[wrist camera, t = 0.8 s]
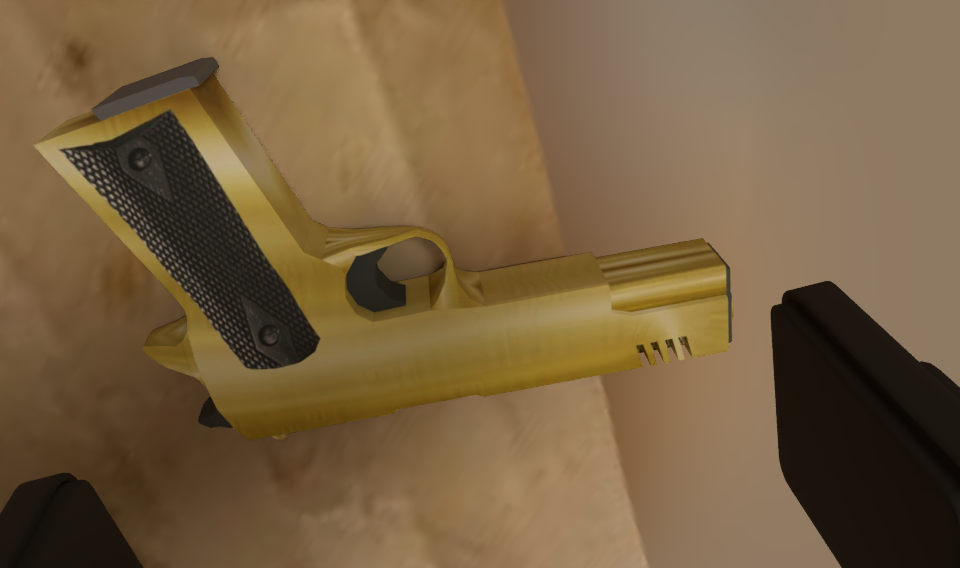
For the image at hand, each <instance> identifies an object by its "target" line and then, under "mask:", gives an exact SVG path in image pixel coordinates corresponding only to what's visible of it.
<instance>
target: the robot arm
mask: <svg viewBox="0 0 960 568" xmlns="http://www.w3.org/2000/svg"><path fill="white" fill-rule="evenodd" d="M771 331H772V347H773V365H774V381H775V398H776V415H777V432H778V449H779V460H780V465H781V469H782V472H783V475H784V477H785V480H786V482H787V484H788V485H789V487H790V488H791V490H792V492H793V493H794V495H795V496H796V498H797V499H798V501H799V503H800V504H801V506H802V507H803V509H804V510H805V512H806V513H807V515H808V516H809V518H810V519H811V521H812V523H813V524H814V526H815V527H816V529H817V530H818V532H819V533H820V535H821V536H822V538H823V539H824V541H825V543H826V544H827V546H828V547H829V549H830V550H831V552H832V553H833V555H834V556H835V558H836V560H837V561H838V562H839V564H840V566H841V567H842V568H960V387H958V386H957V385H956V384H955V383H954V382H953V381H952V380H951V379H949V377H947V376H946V375H945V374H944V373H943V372H942V371H941V370H939V369H938V368H937V367H935V366H934V365H932V364H931V363H927V362H922V361H921V362H919V361H917V360H916V359H915V358H914V357H913V356H912V355H911V354H910V353H909V352H908V351H907V350H906V349H904V348H903V347H902V346H901V345H900V344H899V343H898V342H897V341H896V340H895V339H894V338H893V337H892V336H890V335H889V334H888V333H887V332H886V331H885V330H884V329H883V328H882V327H881V326H880V325H878V324H877V323H876V322H875V321H874V320H873V319H872V318H871V317H870V316H869V315H868V314H866V312H865V311H863V310H862V309H861V308H860V307H859V306H858V305H857V304H856V303H855V302H854V301H853V300H851V299H850V298H849V297H848V296H847V295H846V294H845V293H844V292H843V291H842V290H841V289H840V288H839V287H837V286H836V285H835V284H834V283H832V282H831V281H824V282H820V283H817V284H813V285H809V286H805V287H801V288H797V289H793V290H789V291H786V292H785V293H784V294H783V297H782V304H778V305H774V306H773V307H772V309H771ZM0 568H143V566H142V565H141V563H140V562H139V560H138V558H137V557H136V555H135V554H134V552H133V550H132V549H131V547H130V546H129V544H128V542H127V541H126V539H125V538H124V536H123V535H122V533H121V531H120V530H119V528H118V527H117V525H116V523H115V522H114V520H113V519H112V517H111V515H110V514H109V512H108V511H107V509H106V507H105V506H104V504H103V503H102V501H101V500H100V498H99V496H98V495H97V493H96V492H95V490H94V488H93V487H92V486H91V484H90V483H89V482H87V481H86V480H78V479H77V478H76V477H75V476H73V475H72V474H70V473H61V474H57V475H53V476H49V477H45V478H41V479H37V480H33V481H29V482H25V483H23V484H21V485H19V486H18V487H17V489H16V490H15V491H14V492H13V494H12V496H11V497H10V499H9V501H8V502H7V504H6V506H5V507H4V509H3V511H2V512H1V514H0Z"/></svg>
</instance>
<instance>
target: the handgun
mask: <svg viewBox="0 0 960 568" xmlns="http://www.w3.org/2000/svg"><path fill="white" fill-rule="evenodd" d="M217 68H218V63H217V61H216V60H215V59H214V58H213V57H211V58H202V59H198V60H196V61H193V62H190V63H187V64H184V65H182V66H179V67H176V68H173V69H171V70H168V71H165V72H162V73H159V74H157V75H154V76H151V77H148V78H145V79H143V80H140V81H137V82H134V83H131V84H129V85H126V86H123V87H121V88H119V89H118V90H117V91H115V92H114V93H113V94H111V95H110V96H109V97H107V98H106V99H105V100H103V101H102V102H101V103H99V104H98V105H97V106H95V107H94V108H93V109H92V112H89V113H86V114H84V115H81V116H78V117H75V118H73V119H70V120H67V121H66V122H64V123H63V124H62V125H60V126H59V127H57V128H56V129H55V130H53V131H52V132H50V133H49V134H48V135H46V136H45V137H44V138H42V139H41V140H39V141H38V142H37V143H35V144H34V145H33V146H34V147H35V148H36V149H37V150H38V151H39V152H40V153H41V154H42V155H43V157H44V158H45V159H46V160H47V161H48V162H49V163H50V164H51V165H52V166H53V167H54V168H55V169H56V171H57V172H58V173H59V174H60V175H61V176H62V177H63V178H64V179H65V180H66V181H67V182H68V183H69V184H70V186H71V187H72V188H73V189H74V190H75V191H76V192H77V193H78V194H79V195H80V196H81V197H82V198H83V200H84V201H85V202H86V203H87V204H88V205H89V206H90V207H91V208H92V209H93V210H94V211H95V212H96V213H97V215H98V216H99V217H100V218H101V219H102V220H103V221H104V222H105V223H106V224H107V225H108V226H109V227H110V229H111V230H112V231H113V232H114V233H115V234H116V235H117V236H118V237H119V238H120V239H121V240H122V241H123V242H124V244H125V245H126V246H127V247H128V248H129V249H130V250H131V251H132V252H133V253H134V254H135V255H136V256H137V257H138V259H139V260H140V261H141V262H142V263H143V264H144V265H145V266H146V267H147V268H148V269H149V270H150V271H151V273H152V274H153V275H154V276H155V277H156V278H157V279H158V280H159V281H160V282H161V283H162V284H163V285H164V286H165V288H166V289H167V290H168V291H169V292H170V293H171V294H172V295H173V296H174V297H175V299H176V300H177V301H178V302H179V304H180V305H181V306H182V308H183V309H184V310H185V313H186V317H184V318H182V319H180V320H178V321H176V322H173V323H171V324H168V325H166V326H163V327H161V328H158V329H155V330H153V331H152V333H151V334H150V335H149V337H148V339H147V341H146V343H145V345H144V348H143V351H144V353H145V354H146V355H147V356H149V357H150V358H152V359H153V360H155V361H157V362H158V363H160V364H162V365H163V366H165V367H166V368H169V369H172V370H175V371H178V372H181V373H184V374H187V375H189V376H192V377H194V378H196V379H197V380H199V381H200V382H201V383H202V384H203V385H204V386H205V387H206V388H207V390H208V392H209V394H210V397H209V398H208V400H207V401H206V402H205V403H204V405H203V407H202V410H201V413H200V416H199V418H198V422H199V423H200V424H202V425H204V426H207V427H210V428H213V427H229V428H234V429H235V430H236V431H238V432H239V433H240V434H241V435H242V436H244V437H245V438H246V439H247V440H251V439H258V438H265V437H274V438H275V439H277V440H281V439H286V435H287V434H288V433H294V432H299V431H304V430H310V429H315V428H320V427H326V426H331V425H336V424H342V423H347V422H352V421H358V420H363V419H368V418H374V417H379V416H385V415H390V414H394V413H395V411H396V410H397V409H402V408H408V407H413V406H419V405H424V404H429V403H435V402H440V401H445V400H451V399H456V398H462V397H467V396H472V395H479V396H490V395H495V394H501V393H506V392H511V391H517V390H522V389H528V388H533V387H538V386H544V385H549V384H554V383H560V382H565V381H570V380H576V379H581V378H587V377H592V376H597V375H603V374H607V373H613V372H619V371H624V370H629V369H635V368H640V367H642V364H641V361H640V358H639V355H638V353H642V352H644V353H645V355H646V357H647V359H648V361H649V363H650V365H656V364H657V363H656V360H655V357H654V354H653V352H652V350H658V352H659V353H660V355H661V357H662V359H663V361H664V362H665V363H667V362H670V358H669V355H668V351H667V348H668V347H672V349H673V351H674V353H675V354H676V356H677V358H678V359H679V360H683V359H685V358H684V355H683V351H682V348H681V345H685V347H686V348H687V350H688V352H689V353H690V355H691V356H692V358H694V357H699V356H705V355H710V354H715V353H720V352H726V351H727V350H728V348H729V343H730V342H731V341H732V318H733V304H732V299H731V298H732V297H731V292H730V267H729V266H728V265H727V264H726V263H725V262H724V260H723V259H722V258H721V257H720V256H719V255H718V253H717V252H716V251H715V250H714V249H713V248H712V246H711V245H710V244H709V243H706V242H705V240H704V239H703V238H701V239H696V240H690V241H684V242H679V243H673V244H668V245H662V246H657V247H651V248H646V249H641V250H635V251H629V252H624V253H619V254H613V255H607V256H602V257H596V258H595V257H594V255H593V253H592V252H588V253H582V254H576V255H571V256H565V257H559V258H554V259H548V260H543V261H537V262H532V263H526V264H521V265H515V266H510V267H504V268H498V269H493V270H487V271H482V272H471V271H464V270H461V269H459V268H457V267H455V265H454V262H453V259H452V257H451V253H450V250H449V247H448V245H447V244H446V242H445V241H444V239H443V238H442V237H440V236H439V235H438V234H437V233H435V232H433V231H431V230H428V229H424V228H421V227H417V226H402V227H379V228H367V229H355V230H353V229H341V228H329V227H326V226H324V225H322V224H320V223H317V222H315V221H313V220H311V218H310V217H309V215H308V214H307V212H306V211H305V209H304V208H303V206H302V205H301V203H300V202H299V200H298V199H297V197H296V196H295V195H294V193H293V192H292V190H291V189H290V187H289V186H288V184H287V183H286V181H285V180H284V178H283V177H282V175H281V174H280V172H279V171H278V169H277V168H276V166H275V165H274V163H273V162H272V160H271V159H270V157H269V156H268V154H267V153H266V151H265V150H264V149H263V147H262V146H261V144H260V143H259V141H258V140H257V138H256V137H255V135H254V134H253V132H252V131H251V129H250V128H249V126H248V125H247V123H246V122H245V120H244V119H243V117H242V116H241V114H240V113H239V111H238V110H237V108H236V107H235V106H234V104H233V103H232V101H231V100H230V98H229V97H228V95H227V94H226V92H225V91H224V89H223V88H222V86H221V85H220V83H219V82H218V80H217V79H216V77H215V76H214V74H213V72H214V71H215V70H216V69H217ZM415 236H418V237H422V238H425V239H429V240H432V241H433V242H434V243H435V244H436V245H437V246H438V247H439V248H440V249H441V250H442V251H443V253H444V255H445V257H446V261H445V263H444V266H443V268H442V269H440V270H438V271H437V272H435V273H432V274H430V275H426V276H422V277H417V278H413V279H408V280H403V281H398V282H392V281H390V280H389V279H388V278H387V277H386V276H385V275H384V274H383V273H382V272H381V271H380V270H379V269H378V267H377V262H378V261H379V259H380V258H381V256H382V255H383V254H384V252H385V251H386V249H387V247H388V246H389V245H392V244H395V243H398V242H401V241H404V240H406V239H409V238H412V237H415Z"/></svg>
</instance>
